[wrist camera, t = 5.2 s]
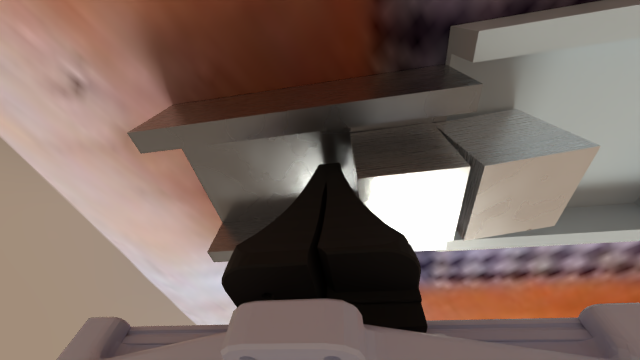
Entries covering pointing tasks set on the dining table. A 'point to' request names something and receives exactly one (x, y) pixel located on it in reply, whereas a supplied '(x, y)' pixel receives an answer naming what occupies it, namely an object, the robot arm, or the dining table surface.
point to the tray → (566, 106)
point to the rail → (295, 138)
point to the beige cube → (515, 171)
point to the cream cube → (411, 180)
